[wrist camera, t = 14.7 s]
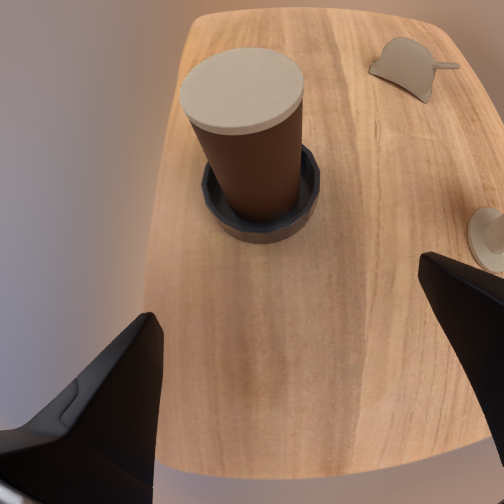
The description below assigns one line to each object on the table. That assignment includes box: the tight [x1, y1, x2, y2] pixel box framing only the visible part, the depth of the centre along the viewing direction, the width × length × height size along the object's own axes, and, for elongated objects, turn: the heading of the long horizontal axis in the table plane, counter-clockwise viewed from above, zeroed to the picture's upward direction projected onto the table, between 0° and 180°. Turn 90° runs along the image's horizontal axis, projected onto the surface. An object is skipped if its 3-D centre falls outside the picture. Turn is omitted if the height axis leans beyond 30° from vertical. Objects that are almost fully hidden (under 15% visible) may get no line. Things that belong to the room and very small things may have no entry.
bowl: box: [201, 144, 320, 244], centre depth 21 cm, size 8×8×2 cm
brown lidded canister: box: [180, 47, 304, 223], centre depth 17 cm, size 6×6×11 cm
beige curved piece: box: [369, 37, 460, 104], centre depth 22 cm, size 4×8×5 cm, turn 52°
